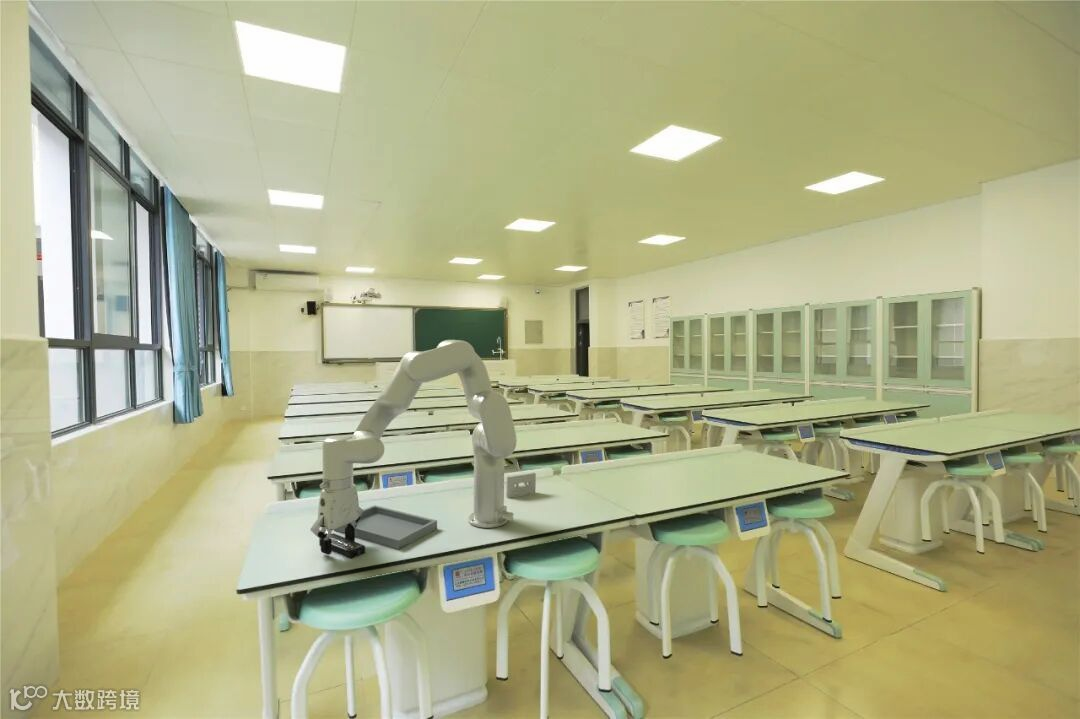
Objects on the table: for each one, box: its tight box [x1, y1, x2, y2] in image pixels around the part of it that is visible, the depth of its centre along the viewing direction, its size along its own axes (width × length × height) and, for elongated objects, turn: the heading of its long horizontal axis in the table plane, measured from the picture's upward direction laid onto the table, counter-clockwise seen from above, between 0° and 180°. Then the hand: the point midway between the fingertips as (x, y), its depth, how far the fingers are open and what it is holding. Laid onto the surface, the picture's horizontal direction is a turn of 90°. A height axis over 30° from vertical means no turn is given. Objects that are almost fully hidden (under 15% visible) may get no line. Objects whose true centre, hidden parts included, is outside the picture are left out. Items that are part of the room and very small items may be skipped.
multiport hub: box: [318, 532, 366, 560], centre depth 127 cm, size 4×14×2 cm, turn 57°
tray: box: [333, 504, 438, 551], centre depth 140 cm, size 26×16×2 cm, turn 63°
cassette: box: [505, 472, 537, 499], centre depth 173 cm, size 12×2×8 cm, turn 121°
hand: (338, 547), depth 126 cm, fingers open, 6 cm apart
